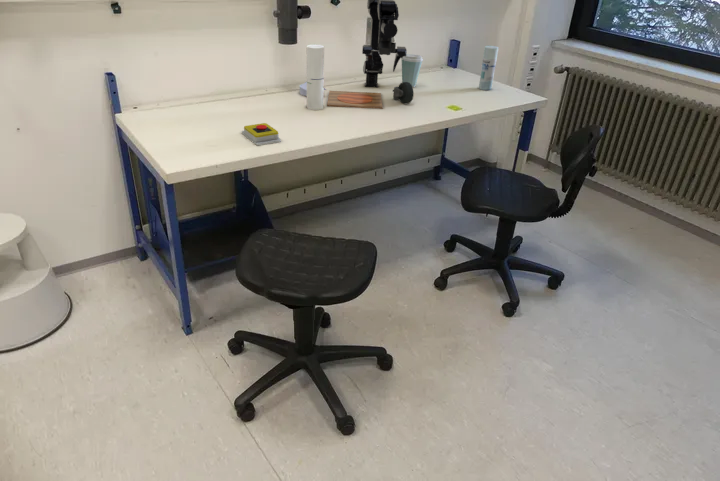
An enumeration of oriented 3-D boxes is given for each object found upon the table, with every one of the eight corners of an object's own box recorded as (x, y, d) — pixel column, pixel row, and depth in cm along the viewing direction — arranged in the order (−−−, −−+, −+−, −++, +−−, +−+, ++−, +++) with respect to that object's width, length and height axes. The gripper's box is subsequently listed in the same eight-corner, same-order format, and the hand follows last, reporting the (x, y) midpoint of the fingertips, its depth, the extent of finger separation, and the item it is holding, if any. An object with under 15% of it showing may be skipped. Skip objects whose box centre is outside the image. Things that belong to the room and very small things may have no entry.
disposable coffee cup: (395, 83, 269) (398, 52, 261) (415, 82, 272) (418, 52, 264) (403, 89, 260) (406, 57, 253) (423, 88, 263) (427, 56, 256)
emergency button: (256, 133, 185) (240, 121, 196) (257, 145, 188) (240, 132, 198) (281, 130, 190) (263, 117, 200) (281, 141, 192) (264, 129, 203)
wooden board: (329, 92, 250) (329, 90, 249) (380, 94, 250) (380, 92, 250) (327, 106, 231) (327, 104, 230) (382, 108, 232) (382, 106, 231)
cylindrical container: (320, 110, 226) (321, 48, 213) (304, 108, 227) (304, 47, 214) (325, 105, 232) (326, 45, 219) (309, 104, 233) (309, 43, 220)
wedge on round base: (326, 97, 243) (313, 89, 252) (327, 82, 239) (313, 75, 249) (309, 99, 239) (296, 91, 248) (309, 84, 235) (296, 77, 244)
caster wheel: (414, 106, 239) (398, 94, 250) (417, 85, 233) (400, 74, 244) (403, 108, 237) (387, 95, 247) (406, 86, 231) (390, 75, 242)
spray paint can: (475, 87, 269) (482, 45, 259) (486, 86, 272) (493, 45, 262) (483, 90, 264) (490, 48, 254) (494, 89, 267) (501, 48, 257)
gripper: (363, 35, 218) (361, 74, 226) (408, 38, 218) (405, 76, 226) (363, 30, 228) (361, 68, 236) (407, 32, 228) (404, 70, 236)
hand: (383, 70), depth 233 cm, fingers open, 9 cm apart
